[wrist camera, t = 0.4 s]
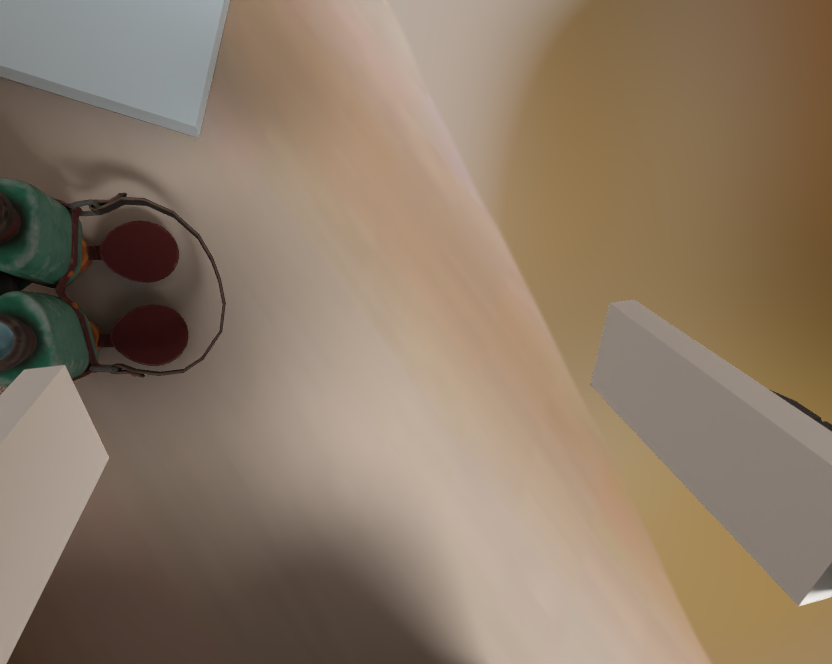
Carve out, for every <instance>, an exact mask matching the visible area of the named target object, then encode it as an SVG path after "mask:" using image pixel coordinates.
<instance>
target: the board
mask: <svg viewBox="0 0 832 664" xmlns="http://www.w3.org/2000/svg"><path fill="white" fill-rule="evenodd" d="M229 3H230V0H0V77H3V78H6V79H10V80H13V81H16V82H19V83H23V84H26V85H29V86H32V87H36V88H39V89H42V90H45V91H48V92H52V93H55V94H58V95H61V96H65V97H68V98H71V99H74V100H78V101H81V102H84V103H87V104H91V105H94V106H97V107H100V108H104V109H107V110H110V111H113V112H117V113H120V114H123V115H126V116H129V117H133V118H136V119H139V120H142V121H146V122H149V123H152V124H155V125H159V126H162V127H165V128H168V129H172V130H175V131H178V132H181V133H185V134H188V135H191V136H194V137H198V138H199V136H200V132H201V127H202V123H203V118H204V114H205V109H206V105H207V101H208V96H209V92H210V87H211V83H212V78H213V74H214V70H215V65H216V61H217V56H218V52H219V48H220V43H221V39H222V34H223V30H224V25H225V21H226V17H227V12H228V8H229Z"/></svg>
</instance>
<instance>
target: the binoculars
mask: <svg viewBox="0 0 832 664" xmlns="http://www.w3.org/2000/svg"><path fill="white" fill-rule="evenodd" d="M126 195H127V194H126V193H119V194H118V195H117V196H115V197H113V198H111V199H110V200H84V201H78V202H73V203H71V204H67V203H65V202H63V201H60V200H57V199H54V198H52V197H50V196H48V195H47V194H45V193H43V192H42V191H40V190H39V189H37V188H35V187H34V186H32V185H30V184H28V183H25V182H22V181H18V180H13V179H8V178H0V385H5V386H9V385H10V384H11V383H12V382H13V381H14V380H15V379H16V378H17V377H18V376H19V375H20V374H21V373H22V371H23V370H25V369H33V368H42V367H51V366H60V365H65V366H66V368H67V370H68V372H69V375H70V377H71V379H72V381H74V380H77V379H79V378H82V377H84V376H86V375H88V374H90V373H91V372H110V373H111V374H130V375H132V376H138V377H145V375H144V374H148V375H157V376H161V375H169V374H176V373H184V372H185V371H187V370H188V369H190V368H191V367H193V366H194V365H196V364H197V363H199V362H200V361H202V360H203V359H204V358H205V356H206V355H207V353H208V352H209V350H210V349H211V347H212V346H213V344H214V343H215V341H216V340H217V338H218V337H219V335H220V334H221V332H222V329H223V321H224V312H225V304H226V303H225V298H224V293H223V288H222V283H221V278H220V275H219V273H218V270H217V267H216V264H215V262H214V259H213V257H212V255H211V253H210V252H209V250H208V248H207V247H206V245H205V243H204V242H203V240H202V238H201V237H200V235H199V234H198V233H197V232H196V231H195V230H194V229H193V228H192V227H190V226H189V225H188V224H187V223H186V222H185V221H184V220H183V219H182V218H181V217H179V216H178V215H177V214H176V213H175V212H174V211H172V210H170V209H167V208H165V207H163V206H161V205H158V204H156V203H154V202H152V201H150V200H147V199H145V198H132V197H126ZM85 205H89V208H90V209H91V210H92V211H82V209H81V208H80V207H81V206H85ZM123 205H143V206H149V207H151V208H153V209H155V210H158V211H160V212H162V213H164V214H167V215H169V216H171V217H173V218H175V219H176V220H177V221H178V222H179V223H180V224H181V225H183V226H184V227H185V228H186V229H187V230H188V231H189V232H190V233H191V234H193V235H194V236H195V237H196V238H197V239H198V240H199V242H200V244H201V245H202V247H203V249H204V250H205V252H206V254H207V256H208V257H209V259H210V261H211V263H212V266H213V268H214V271H215V274H216V276H217V279H218V283H219V288H220V293H221V298H222V303H223V307H222V315H221V323H220V331H219V332H218V334H217V335H216V337H215V338H214V340H213V341H212V343H211V344H210V346H209V347H208V349H207V350H206V352H205V353H204V355H203V356H202V357H201V358H200V359H198V360H197V361H195V362H194V363H192V364H191V365H189V366H188V367H186V368H185V369H180V370H172V371H164V372H158V371H149V370H140V369H135V368H132V367H130V366H127V365H125V364H114V365H101V364H98V353H97V352H98V351H99V349H100V348H101V347H115V348H116V349H117V351H119V352H120V353H121V354H122V355H124V356H125V357H126V358H128V359H130V360H132V361H134V362H137V363H140V364H143V365H149V366H159V365H164V364H167V363H169V362H172V361H173V360H175V359H176V358H178V357H179V356H180V355H181V354H182V353H183V351H184V349H185V347H186V345H187V341H188V328H187V325H186V323H185V321H184V319H183V318H182V317H181V316H180V314H178V313H177V312H176V311H174V310H173V309H171V308H168V307H166V306H162V305H145V306H141V307H138V308H135V309H134V310H132V311H130V312H128V313H126V314H125V315H124V316H122V317H121V318H120V319H119V320H118V321H117V322H116V323H115V325H114V327H113V328H112V330H111V334H103V333H102V331H101V329H100V328H99V327H98V326H97V325H96V324H95V323H93V322H91V321H90V320H88V319H87V316H86V315H85V313H84V312H83V311H82V309H81V308H79V307H78V304H77V303H75V302H72V301H71V300H70V299H69V298H68V297H67V296H66V294H65V286H67V285H69V284H70V283H71V282H72V281H73V280H74V279H75V278H76V276H77V275H78V274H80V273H82V272H83V271H85V270H86V269H87V268H88V267H89V265H90V264H91V262H92V260H103V261H104V262H105V264H106V265H107V266H108V267H109V268H110V269H111V270H113V271H114V272H115V273H117V274H119V275H121V276H122V277H125V278H127V279H130V280H133V281H137V282H147V283H149V282H156V281H159V280H161V279H164V278H165V277H167V276H168V275H170V273H171V272H172V271H173V270H174V269H175V267H176V265H177V263H178V259H179V250H178V246H177V243H176V241H175V239H174V238H173V237H172V235H171V234H170V233H169V232H168V231H167V230H165V229H164V228H163V227H161V226H159V225H157V224H154V223H151V222H147V221H133V222H129V223H125V224H123V225H121V226H119V227H116V228H115V229H114V230H112V231H111V232H109V233H108V235H107V236H106V237H105V238H104V239H103V241H102V243H101V245H100V246H90V245H89V244H88V243H87V242H86V241H85V240H84V239H83V238H82V227H81V222H80V220H79V216H93V215H103V214H105V213H109V212H111V211H113V210H115V209H117V208H119V207H121V206H123ZM69 209H70V210H69ZM71 210H72V211H71ZM32 282H33V283H37V284H40V285H44V286H47V287H51V288H56V291H57V293H58V295H59V297H56V296H51V295H47V294H41V293H32V292H24V291H21V290H22V289H24V288H25V287H27V286H28V285H30V284H31V283H32ZM122 369H124V370H122Z"/></svg>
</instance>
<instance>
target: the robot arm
mask: <svg viewBox="0 0 832 664" xmlns="http://www.w3.org/2000/svg"><path fill="white" fill-rule="evenodd" d="M590 385H591V386H592V387H593V388H594V389H595V390H596V392H597V393H598V394H599V395H600V396H601V397H602V398H603V399H604V400H605V401H606V402H607V403H608V404H609V405H610V406H611V407H612V409H613V410H614V411H615V412H616V413H617V414H618V415H619V416H620V417H621V418H622V419H623V420H624V421H625V422H626V423H627V425H628V426H629V427H630V428H631V429H632V430H633V431H634V432H635V433H636V434H637V435H638V436H639V437H640V438H641V439H642V441H643V442H644V443H645V444H646V445H647V446H648V447H649V448H650V449H651V450H652V451H653V452H654V453H655V454H656V455H657V456H658V458H659V459H661V461H662V462H663V463H664V464H665V465H666V466H667V467H668V468H669V469H670V470H671V471H672V472H673V473H674V474H675V476H676V477H677V478H678V479H679V480H680V481H681V482H682V483H683V484H684V485H685V486H686V487H687V488H688V489H689V490H690V492H691V493H692V494H693V495H694V496H695V497H696V498H697V499H698V500H699V501H700V502H701V503H702V504H703V505H704V506H705V508H706V509H707V510H708V511H709V512H710V513H711V514H712V515H713V516H714V517H715V518H716V519H717V520H718V521H719V522H720V523H721V524H722V525H723V527H724V528H725V529H726V530H727V531H728V532H729V533H730V534H731V535H732V536H733V537H734V538H735V539H736V540H737V542H739V544H741V546H742V547H743V548H744V549H745V550H746V551H747V552H748V553H749V554H750V555H751V556H752V557H753V558H754V560H756V562H757V563H758V564H759V565H760V566H761V567H762V568H763V569H764V570H765V571H766V572H767V573H768V574H769V576H770V577H771V578H772V579H773V580H774V581H775V582H776V583H777V584H778V585H779V586H780V587H781V588H782V589H783V590H784V592H785V593H786V594H787V595H788V596H789V597H790V598H791V599H792V600H793V601H794V602H795V603H796V604H797V605H798V606H801V605H805V604H808V603H812V602H815V601H819V600H823V599H826V598H829V597H832V425H831V424H829V423H828V422H826V421H825V422H822V421H821V418H820V417H819V416H817V415H816V414H814V413H813V412H811V411H810V410H808V409H807V408H805V407H804V406H802V405H801V404H799V403H798V402H796V401H794V400H792V399H789V398H787V397H785V396H783V395H780V394H778V393H776V392H774V391H771V390H769V389H767V388H766V387H764V386H762V385H761V384H760V383H758V382H756V381H755V380H754V379H752V378H751V377H749V376H748V375H746V374H745V373H743V372H742V371H740V370H739V369H737V368H736V367H734V366H733V365H731V364H730V363H728V362H727V361H725V360H724V359H722V358H721V357H719V356H718V355H716V354H715V353H713V352H712V351H710V350H709V349H707V348H706V347H704V346H702V345H701V344H700V343H698V342H697V341H695V340H694V339H692V338H691V337H689V336H688V335H686V334H685V333H683V332H682V331H680V330H679V329H677V328H676V327H674V326H673V325H671V324H670V323H668V322H667V321H665V320H664V319H662V318H661V317H659V316H658V315H656V314H655V313H653V312H652V311H650V310H649V309H647V308H646V307H644V306H643V305H641V304H640V303H638V302H637V301H635V300H629V301H620V302H612V303H609V307H608V311H607V316H606V320H605V324H604V329H603V333H602V337H601V341H600V346H599V350H598V354H597V359H596V363H595V367H594V371H593V376H592V380H591V384H590ZM108 460H109V456H108V454H107V452H106V450H105V448H104V446H103V444H102V441H101V439H100V437H99V435H98V433H97V431H96V429H95V427H94V425H93V423H92V421H91V418H90V416H89V414H88V412H87V410H86V408H85V406H84V404H83V402H82V400H81V398H80V395H79V393H78V391H77V389H76V387H75V385H74V383H73V381H72V379H71V377H70V375H69V372H68V370H67V368H66V366H65V365H60V366H51V367H42V368H33V369H25V370H23V371H22V373H21V374H20V375H19V376H18V377H17V378H16V379H15V380H14V381H13V382H12V383H11V384H10V385H9V386H8V387H7V388H6V390H5V391H4V392H3V393H2V394H1V395H0V664H7V662H8V660H9V658H10V656H11V654H12V652H13V650H14V648H15V646H16V644H17V642H18V640H19V638H20V636H21V634H22V632H23V630H24V628H25V626H26V624H27V622H28V620H29V618H30V616H31V614H32V612H33V610H34V608H35V606H36V604H37V602H38V600H39V598H40V596H41V594H42V592H43V590H44V588H45V586H46V584H47V582H48V580H49V578H50V576H51V574H52V572H53V570H54V568H55V566H56V564H57V562H58V560H59V558H60V556H61V554H62V552H63V550H64V548H65V546H66V544H67V542H68V540H69V538H70V536H71V534H72V532H73V530H74V528H75V526H76V524H77V522H78V520H79V518H80V516H81V514H82V512H83V510H84V508H85V506H86V504H87V502H88V500H89V498H90V496H91V494H92V492H93V490H94V488H95V486H96V484H97V482H98V480H99V478H100V476H101V474H102V472H103V470H104V468H105V466H106V464H107V462H108Z"/></svg>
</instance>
